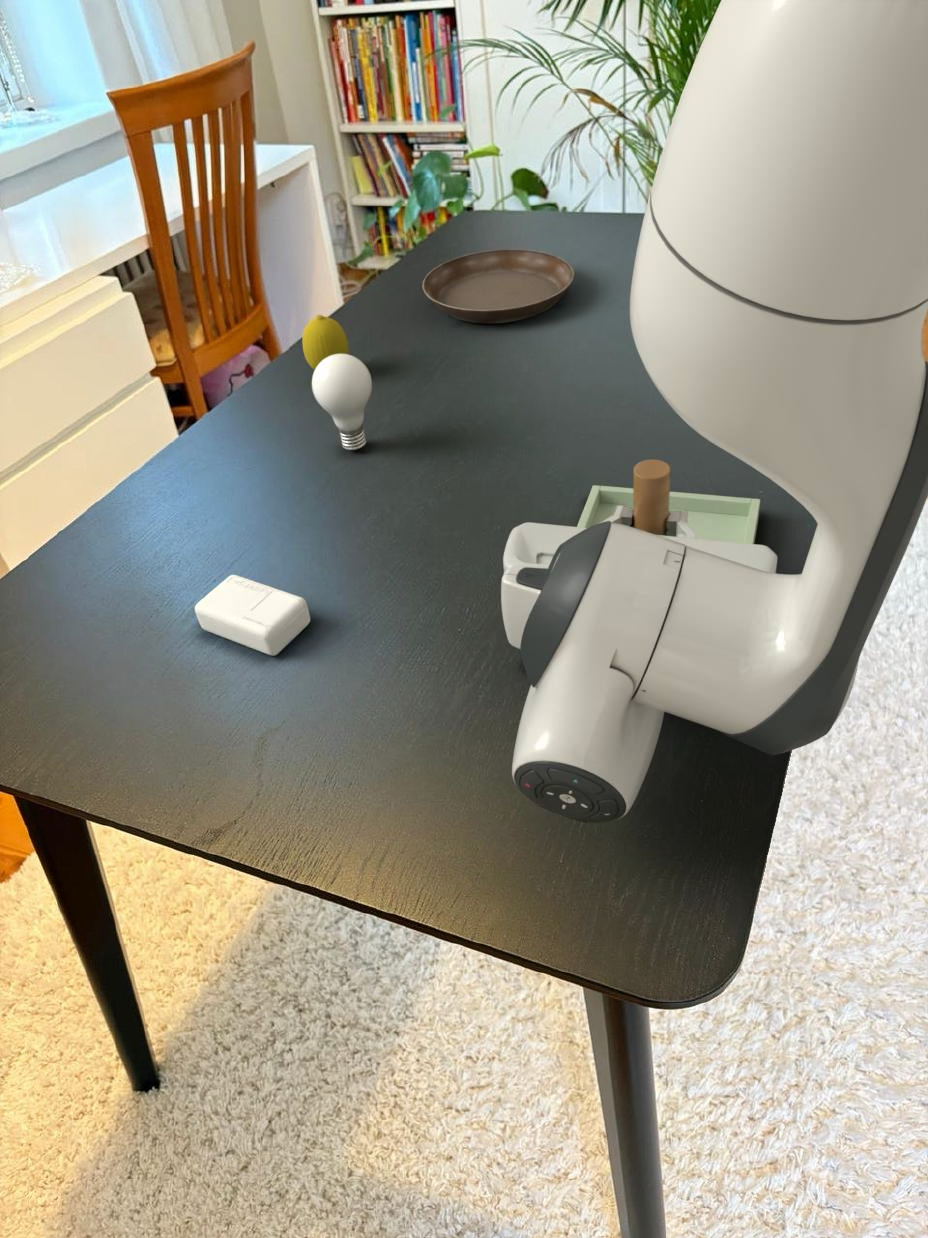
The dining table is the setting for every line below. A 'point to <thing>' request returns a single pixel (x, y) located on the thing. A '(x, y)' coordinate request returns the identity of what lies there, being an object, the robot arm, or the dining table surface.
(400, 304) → the dining table surface
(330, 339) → the lemon
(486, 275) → the plant saucer
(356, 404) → the lightbulb
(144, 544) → the dining table surface
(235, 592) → the soap
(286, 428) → the dining table surface
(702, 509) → the tray
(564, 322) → the dining table surface
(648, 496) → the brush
